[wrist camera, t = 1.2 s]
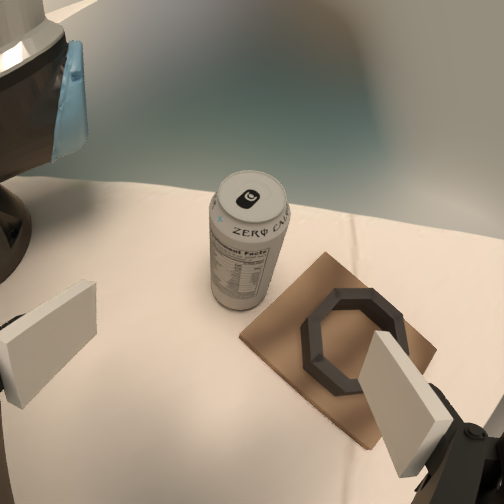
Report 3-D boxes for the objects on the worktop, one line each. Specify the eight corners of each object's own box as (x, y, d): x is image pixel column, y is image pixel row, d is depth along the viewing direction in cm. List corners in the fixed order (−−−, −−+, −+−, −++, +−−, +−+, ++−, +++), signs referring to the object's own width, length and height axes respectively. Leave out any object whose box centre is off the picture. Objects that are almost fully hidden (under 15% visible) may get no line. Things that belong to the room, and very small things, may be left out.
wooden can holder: (238, 337, 32) (241, 324, 29) (322, 256, 38) (332, 236, 35) (366, 449, 27) (385, 450, 23) (431, 352, 33) (452, 341, 29)
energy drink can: (277, 283, 36) (310, 191, 23) (244, 324, 33) (262, 245, 20) (233, 253, 37) (244, 153, 25) (199, 291, 34) (190, 198, 22)
